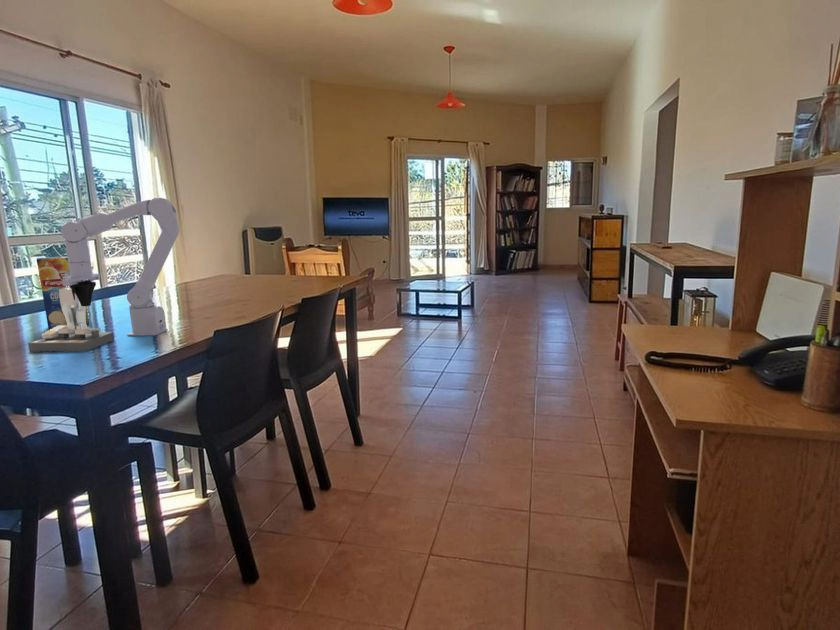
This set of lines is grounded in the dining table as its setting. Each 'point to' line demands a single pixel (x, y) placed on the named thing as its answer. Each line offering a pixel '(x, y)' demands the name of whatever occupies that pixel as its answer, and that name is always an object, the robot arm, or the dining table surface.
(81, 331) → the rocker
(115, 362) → the dining table surface
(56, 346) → the switch unit
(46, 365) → the dining table surface
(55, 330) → the rocker
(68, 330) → the rocker middle
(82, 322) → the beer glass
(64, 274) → the juice carton
